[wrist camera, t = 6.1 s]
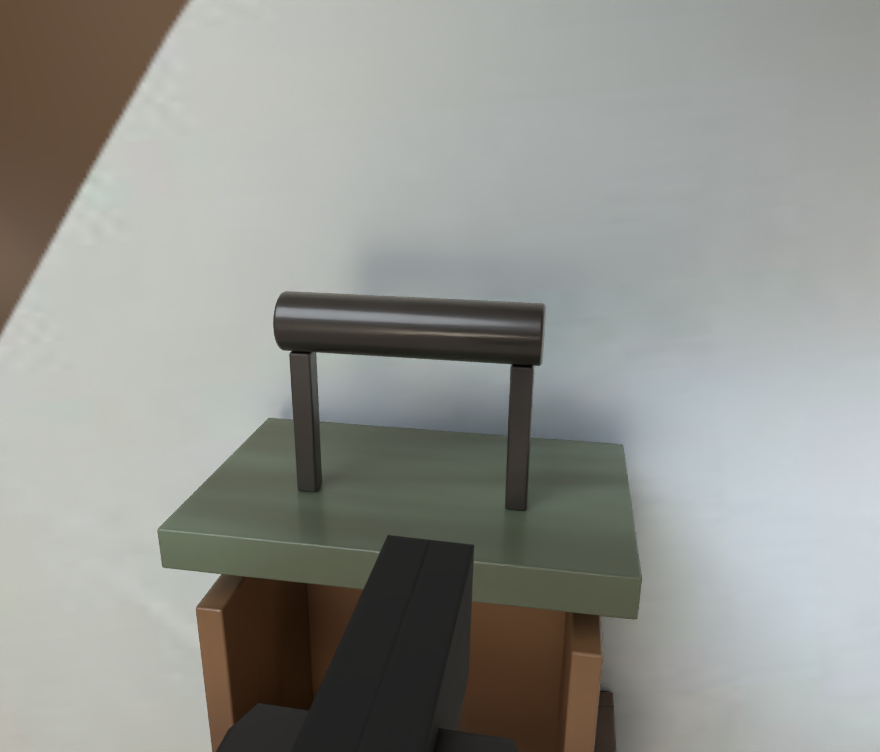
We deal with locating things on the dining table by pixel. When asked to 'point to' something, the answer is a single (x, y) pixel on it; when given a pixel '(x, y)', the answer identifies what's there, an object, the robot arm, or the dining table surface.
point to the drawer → (412, 528)
